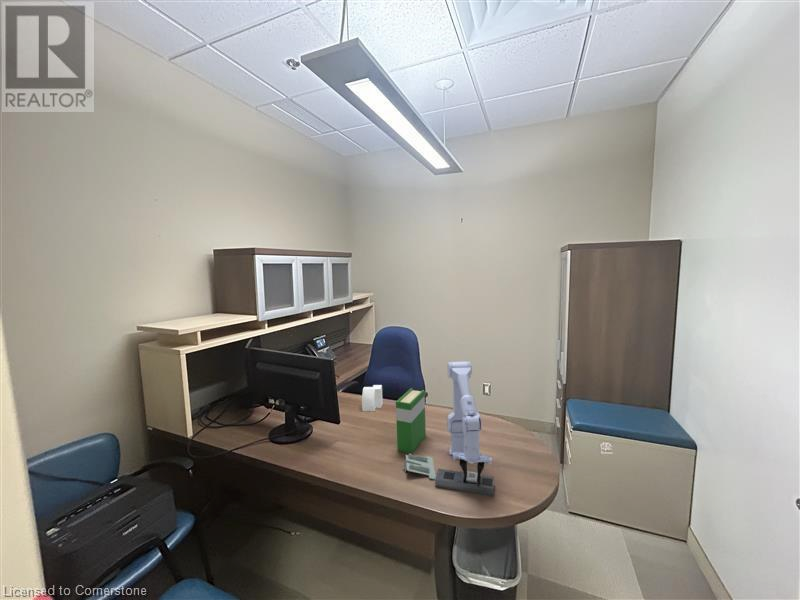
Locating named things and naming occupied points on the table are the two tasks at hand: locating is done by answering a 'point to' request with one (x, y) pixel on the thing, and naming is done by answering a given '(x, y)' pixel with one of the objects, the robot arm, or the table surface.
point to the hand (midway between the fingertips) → (472, 478)
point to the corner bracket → (372, 398)
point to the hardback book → (410, 420)
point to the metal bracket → (420, 465)
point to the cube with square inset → (472, 478)
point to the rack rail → (457, 482)
